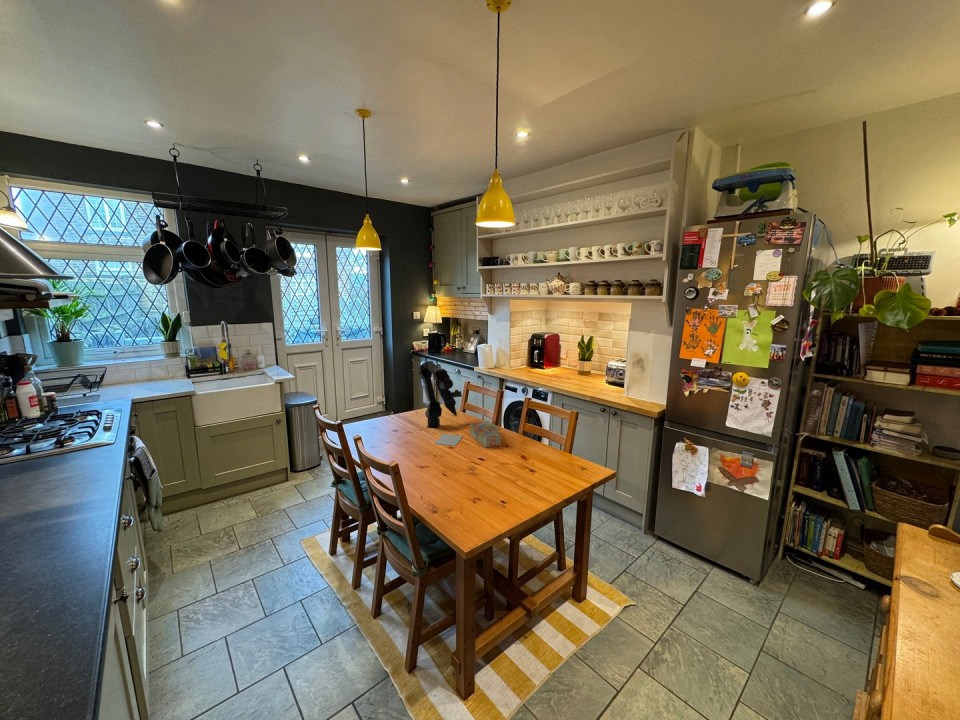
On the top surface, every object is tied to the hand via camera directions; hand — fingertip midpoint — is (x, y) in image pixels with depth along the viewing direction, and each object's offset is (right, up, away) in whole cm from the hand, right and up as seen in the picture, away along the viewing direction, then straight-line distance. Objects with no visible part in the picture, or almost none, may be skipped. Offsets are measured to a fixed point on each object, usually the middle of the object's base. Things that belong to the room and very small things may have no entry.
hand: (456, 415), depth 218 cm
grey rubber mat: (-4, -13, -2) cm, 14 cm away
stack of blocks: (+12, -10, -4) cm, 16 cm away
